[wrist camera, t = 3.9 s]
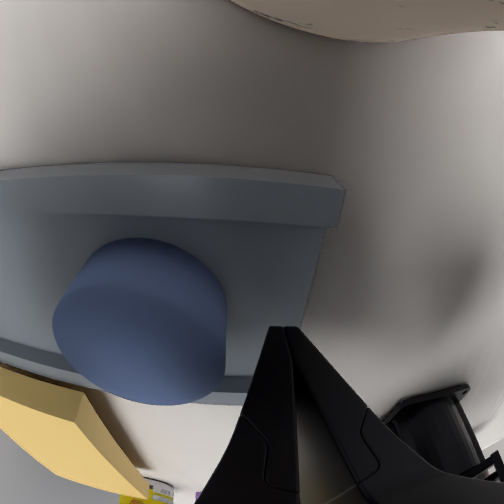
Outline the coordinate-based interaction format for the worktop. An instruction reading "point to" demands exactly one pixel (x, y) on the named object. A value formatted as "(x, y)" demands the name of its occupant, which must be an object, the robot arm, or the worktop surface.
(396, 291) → the worktop surface
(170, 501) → the supplement bottle
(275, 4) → the teacup with lid
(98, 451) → the cover
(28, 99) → the worktop surface
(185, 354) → the blue rounded dome
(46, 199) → the grey flanged channel
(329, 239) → the worktop surface
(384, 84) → the worktop surface
